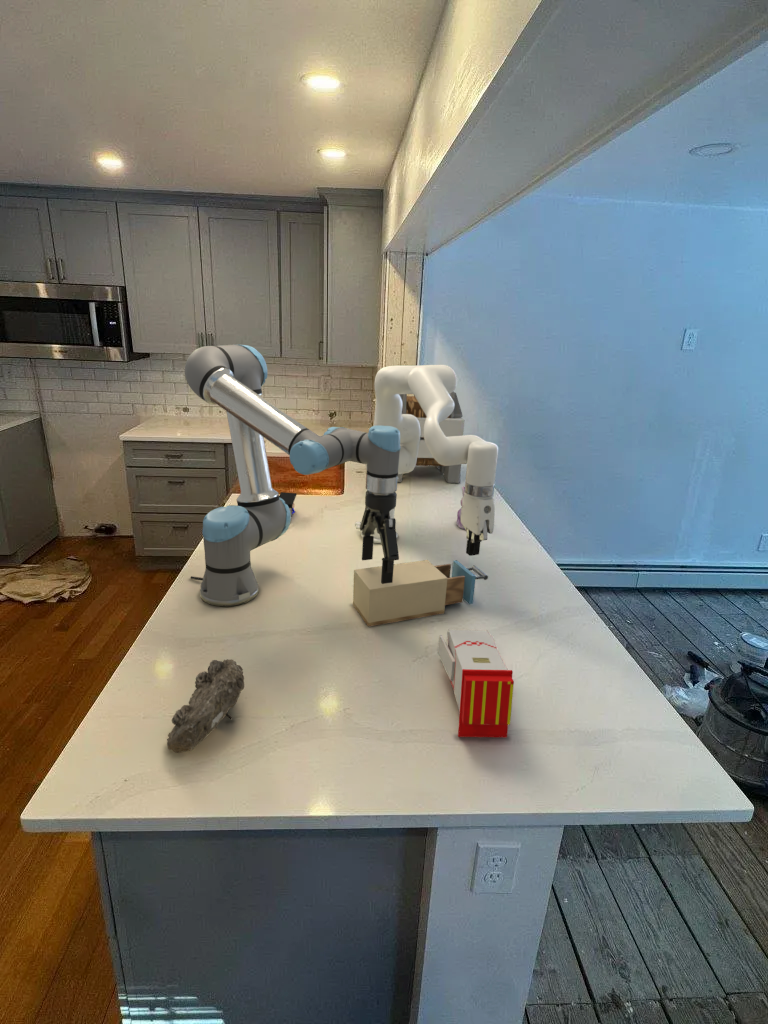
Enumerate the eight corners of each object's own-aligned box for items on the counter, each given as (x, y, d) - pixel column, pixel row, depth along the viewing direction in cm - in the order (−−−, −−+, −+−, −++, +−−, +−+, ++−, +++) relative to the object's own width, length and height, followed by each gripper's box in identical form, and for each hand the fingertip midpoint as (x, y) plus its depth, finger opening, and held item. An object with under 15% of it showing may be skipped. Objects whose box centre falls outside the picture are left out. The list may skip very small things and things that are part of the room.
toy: (488, 613, 130) (523, 677, 101) (484, 667, 133) (517, 744, 104) (435, 612, 130) (455, 676, 101) (432, 666, 133) (451, 743, 103)
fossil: (192, 660, 117) (244, 628, 112) (224, 691, 120) (276, 661, 115) (142, 746, 98) (202, 712, 93) (182, 779, 101) (242, 748, 96)
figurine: (464, 531, 204) (468, 492, 199) (448, 522, 212) (452, 484, 207) (485, 528, 208) (490, 489, 203) (469, 519, 217) (473, 481, 212)
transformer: (382, 463, 289) (386, 382, 275) (445, 464, 293) (451, 384, 279) (390, 482, 257) (394, 392, 243) (460, 483, 261) (468, 394, 247)
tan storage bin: (424, 593, 159) (427, 559, 155) (444, 613, 149) (447, 577, 145) (352, 604, 151) (353, 569, 147) (368, 626, 141) (369, 589, 137)
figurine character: (292, 527, 205) (297, 509, 218) (292, 508, 201) (297, 491, 215) (273, 526, 205) (280, 508, 218) (273, 507, 201) (279, 490, 215)
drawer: (470, 584, 163) (472, 557, 160) (489, 600, 154) (492, 573, 151) (389, 596, 154) (390, 569, 151) (405, 615, 145) (406, 586, 142)
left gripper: (417, 507, 127) (410, 591, 134) (376, 475, 148) (372, 549, 156) (386, 509, 124) (381, 595, 132) (349, 476, 146) (346, 552, 153)
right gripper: (507, 497, 142) (499, 563, 148) (476, 480, 155) (470, 542, 161) (481, 499, 139) (474, 567, 145) (452, 482, 152) (447, 545, 158)
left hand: (376, 570), depth 144 cm, fingers open, 13 cm apart
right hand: (472, 553), depth 153 cm, fingers closed
